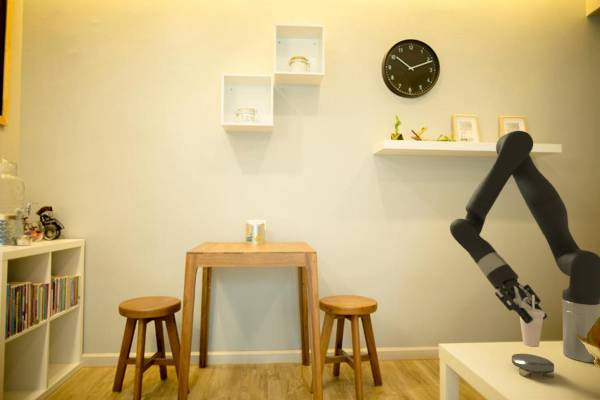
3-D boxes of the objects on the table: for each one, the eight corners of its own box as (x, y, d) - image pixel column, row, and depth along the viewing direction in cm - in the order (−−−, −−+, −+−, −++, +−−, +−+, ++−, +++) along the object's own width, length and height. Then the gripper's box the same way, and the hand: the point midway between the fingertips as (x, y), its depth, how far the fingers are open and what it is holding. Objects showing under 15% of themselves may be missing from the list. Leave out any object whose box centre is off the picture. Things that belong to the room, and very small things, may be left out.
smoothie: (549, 350, 96) (549, 298, 96) (523, 348, 97) (523, 297, 97) (538, 341, 102) (538, 292, 102) (514, 339, 103) (514, 291, 104)
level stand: (512, 361, 106) (512, 350, 106) (553, 369, 101) (553, 358, 101) (511, 374, 98) (511, 363, 98) (555, 384, 92) (555, 372, 93)
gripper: (490, 264, 103) (532, 317, 93) (519, 262, 110) (562, 310, 99) (473, 279, 108) (512, 330, 97) (503, 276, 115) (542, 323, 104)
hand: (537, 320), depth 98 cm, fingers closed on smoothie, 6 cm apart
